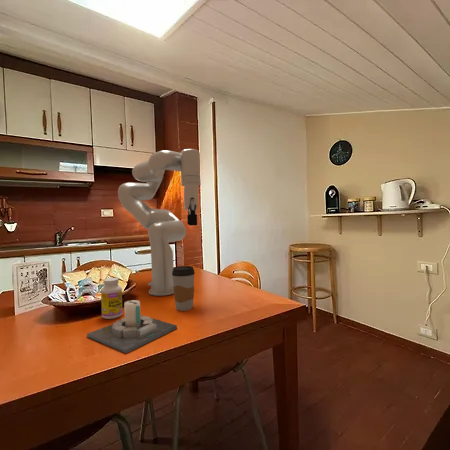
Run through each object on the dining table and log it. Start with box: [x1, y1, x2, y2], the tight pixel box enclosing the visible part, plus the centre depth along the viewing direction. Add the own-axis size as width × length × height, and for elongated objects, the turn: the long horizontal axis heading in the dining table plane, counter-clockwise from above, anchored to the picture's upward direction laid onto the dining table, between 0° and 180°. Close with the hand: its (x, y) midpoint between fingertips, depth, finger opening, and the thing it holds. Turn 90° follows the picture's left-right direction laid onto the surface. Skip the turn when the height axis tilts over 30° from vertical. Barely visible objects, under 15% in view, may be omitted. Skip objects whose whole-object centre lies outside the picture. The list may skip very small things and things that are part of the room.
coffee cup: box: [172, 265, 195, 312], centre depth 103 cm, size 8×8×15 cm
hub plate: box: [86, 314, 178, 354], centre depth 83 cm, size 18×18×3 cm
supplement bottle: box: [100, 277, 123, 320], centre depth 97 cm, size 7×7×13 cm
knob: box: [123, 299, 142, 329], centre depth 82 cm, size 5×4×8 cm
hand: (192, 224), depth 112 cm, fingers open, 9 cm apart
